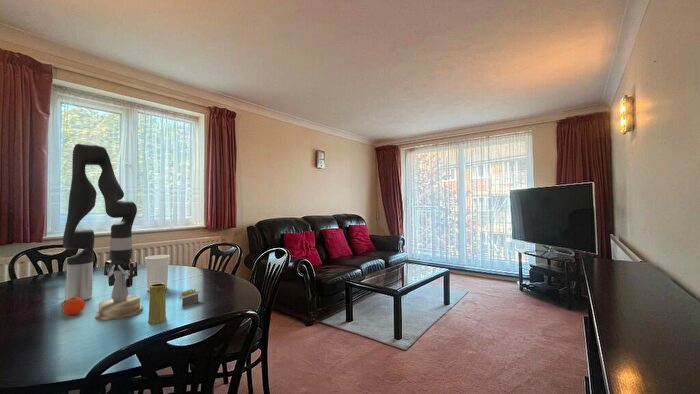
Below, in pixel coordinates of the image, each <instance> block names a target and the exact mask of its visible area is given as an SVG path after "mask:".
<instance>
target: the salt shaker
mask: <svg viewBox="0 0 700 394" xmlns="http://www.w3.org/2000/svg"><path fill="white" fill-rule="evenodd" d="M114 276H115V282H114V285H113V286H112V287H113V288H112V292H111V296H110V298H112V300H113V301H114V302H123V301H125V300H126V299H127V297H128V296H129V295H130V294H129V293H130V292H129V289H128V288H129V287H128V288H127V287H126V276H125V275H123V274H122V272H121V271H115V272H114Z"/></svg>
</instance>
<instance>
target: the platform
mask: <svg viewBox="0 0 700 394" xmlns="http://www.w3.org/2000/svg"><path fill="white" fill-rule="evenodd" d="M201 293H202V291H201V290H196V288H191V289H187V290H183V291H181V294H179V295H178V297H179V299H182V301H181V302H182V303H181V304H182V305H181V306H182V307H185V306H188V305H191V304H195V303H198V302H199V294H201Z"/></svg>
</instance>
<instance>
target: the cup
mask: <svg viewBox="0 0 700 394" xmlns="http://www.w3.org/2000/svg"><path fill="white" fill-rule="evenodd" d="M170 258H171V255H169V254H155V255H149V256H145V257H144V267H145V268H146V291H147V292H148V293H150V285H152V284H157V283H165V284H166V286H165V290H167V289H168V277H169V276H168V275H169V266H170V261H171V260H170Z"/></svg>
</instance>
